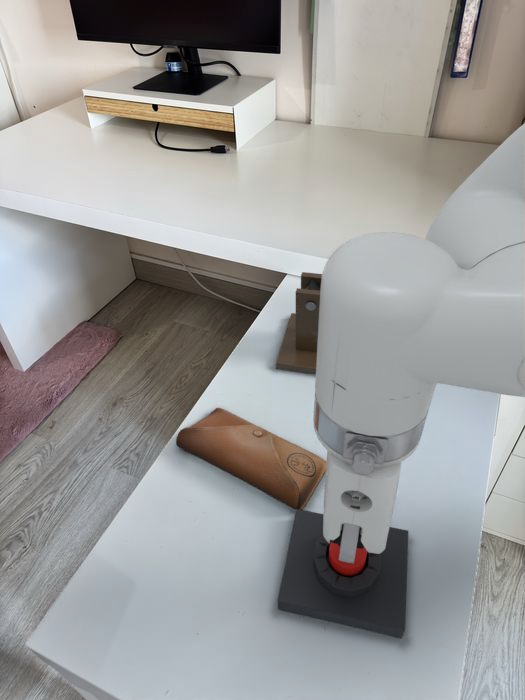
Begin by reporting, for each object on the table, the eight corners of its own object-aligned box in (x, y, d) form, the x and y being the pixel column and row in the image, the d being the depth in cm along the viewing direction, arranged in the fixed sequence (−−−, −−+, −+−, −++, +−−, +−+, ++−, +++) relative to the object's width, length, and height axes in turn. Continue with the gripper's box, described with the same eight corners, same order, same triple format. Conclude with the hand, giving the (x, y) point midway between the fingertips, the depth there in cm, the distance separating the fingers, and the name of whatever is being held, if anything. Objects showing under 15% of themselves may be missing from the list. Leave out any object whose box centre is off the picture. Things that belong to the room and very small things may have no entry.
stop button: (366, 544, 51) (368, 536, 50) (363, 579, 48) (365, 571, 47) (331, 537, 52) (332, 528, 50) (326, 571, 49) (326, 563, 48)
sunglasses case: (332, 459, 62) (321, 451, 56) (309, 513, 61) (295, 511, 55) (214, 405, 69) (193, 392, 64) (191, 452, 68) (167, 444, 62)
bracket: (346, 324, 82) (351, 262, 74) (336, 377, 73) (341, 313, 65) (291, 318, 83) (291, 257, 75) (275, 368, 75) (273, 305, 67)
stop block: (405, 540, 55) (411, 521, 52) (401, 639, 48) (408, 623, 45) (296, 518, 57) (296, 499, 54) (277, 609, 50) (276, 593, 47)
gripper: (424, 519, 29) (383, 632, 41) (425, 345, 39) (392, 477, 52) (294, 493, 30) (292, 610, 43) (329, 333, 41) (319, 464, 53)
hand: (347, 537), depth 47 cm, fingers closed
